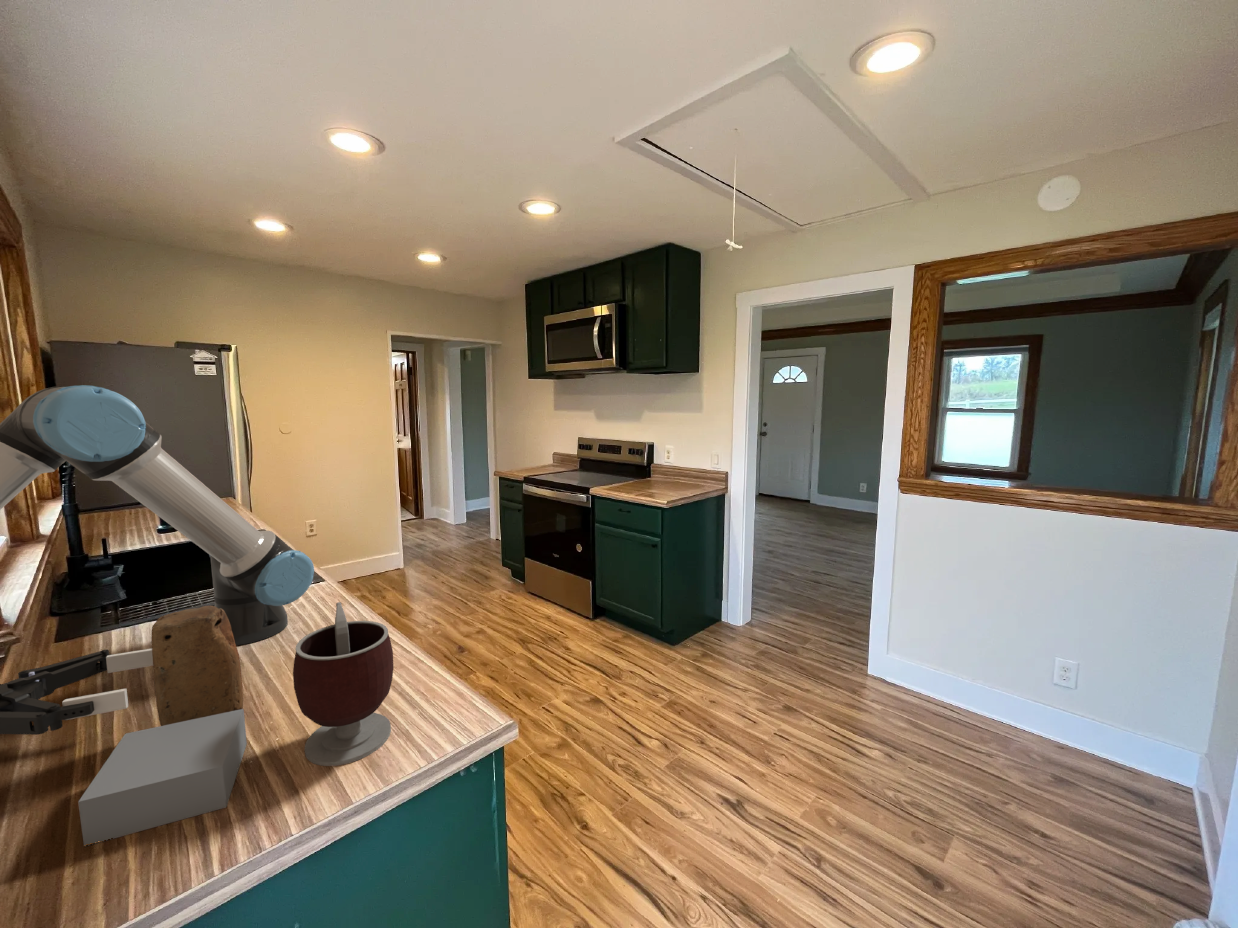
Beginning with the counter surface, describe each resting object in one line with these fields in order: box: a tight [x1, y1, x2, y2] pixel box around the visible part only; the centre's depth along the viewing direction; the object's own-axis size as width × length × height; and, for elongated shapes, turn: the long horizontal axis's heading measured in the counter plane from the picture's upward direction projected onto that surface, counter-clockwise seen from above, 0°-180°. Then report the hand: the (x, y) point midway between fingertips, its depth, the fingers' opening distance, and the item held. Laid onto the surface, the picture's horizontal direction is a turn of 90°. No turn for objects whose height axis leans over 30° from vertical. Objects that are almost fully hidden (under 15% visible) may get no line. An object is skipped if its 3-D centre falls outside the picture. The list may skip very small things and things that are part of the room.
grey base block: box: [78, 708, 248, 846], centre depth 71 cm, size 14×14×6 cm
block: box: [151, 605, 244, 726], centre depth 84 cm, size 11×8×20 cm
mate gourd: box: [292, 601, 395, 767], centre depth 82 cm, size 16×14×20 cm
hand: (144, 675), depth 80 cm, fingers open, 13 cm apart
